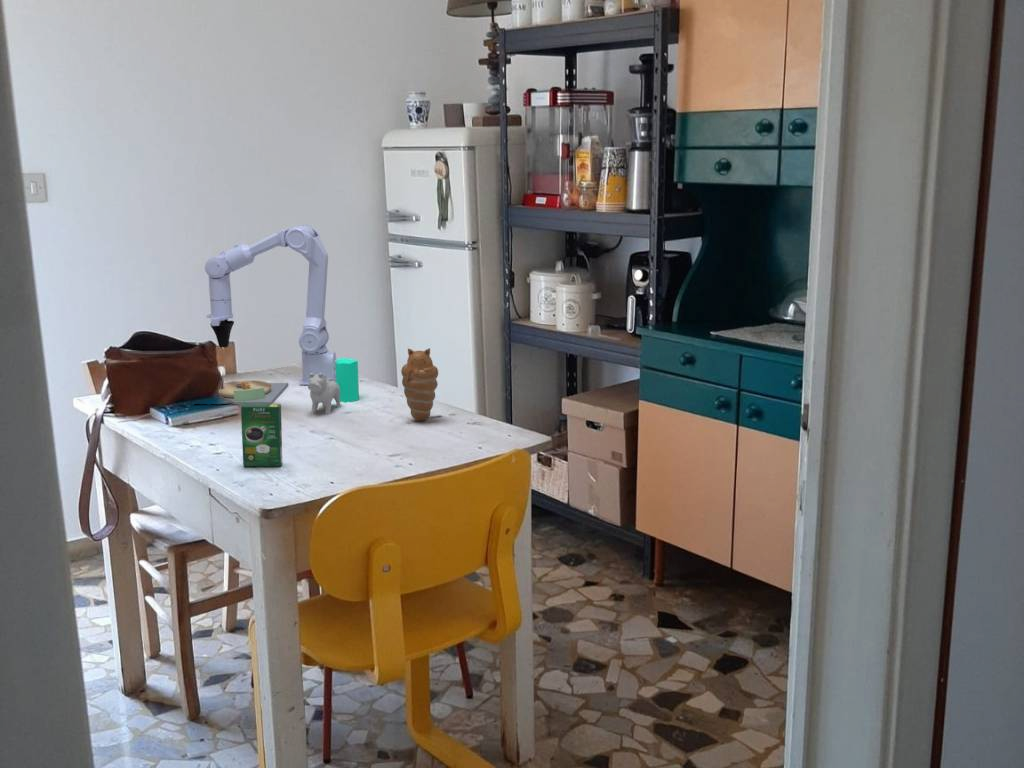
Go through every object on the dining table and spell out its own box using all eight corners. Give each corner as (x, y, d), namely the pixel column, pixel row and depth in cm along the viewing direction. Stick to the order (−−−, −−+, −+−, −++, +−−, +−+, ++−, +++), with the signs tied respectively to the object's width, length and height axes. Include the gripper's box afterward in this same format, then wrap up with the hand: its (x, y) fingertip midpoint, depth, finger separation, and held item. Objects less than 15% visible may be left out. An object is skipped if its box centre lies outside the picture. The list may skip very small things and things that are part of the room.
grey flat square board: (288, 385, 275) (288, 381, 275) (270, 405, 254) (270, 400, 254) (216, 385, 275) (216, 381, 275) (193, 405, 254) (192, 401, 253)
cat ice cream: (401, 425, 235) (399, 351, 231) (404, 416, 242) (402, 345, 238) (438, 425, 235) (437, 351, 231) (439, 416, 243) (438, 344, 239)
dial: (249, 382, 274) (248, 367, 273) (283, 390, 265) (283, 375, 264) (202, 391, 263) (200, 376, 262) (236, 400, 254) (235, 385, 253)
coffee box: (284, 463, 206) (281, 402, 203) (282, 467, 203) (279, 405, 200) (245, 463, 205) (242, 402, 203) (242, 467, 203) (239, 406, 200)
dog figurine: (303, 417, 242) (301, 375, 240) (323, 404, 255) (321, 364, 252) (324, 418, 241) (322, 375, 239) (343, 405, 254) (341, 365, 251)
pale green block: (263, 397, 258) (263, 387, 258) (265, 398, 257) (264, 388, 256) (233, 400, 255) (232, 390, 255) (234, 401, 254) (234, 391, 253)
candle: (333, 398, 261) (332, 353, 259) (355, 395, 264) (354, 351, 261) (339, 403, 256) (338, 357, 253) (362, 400, 259) (360, 356, 256)
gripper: (213, 295, 283) (216, 342, 286) (198, 303, 268) (202, 351, 271) (238, 295, 283) (241, 342, 286) (224, 303, 268) (227, 351, 272)
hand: (223, 347), depth 279 cm, fingers closed
